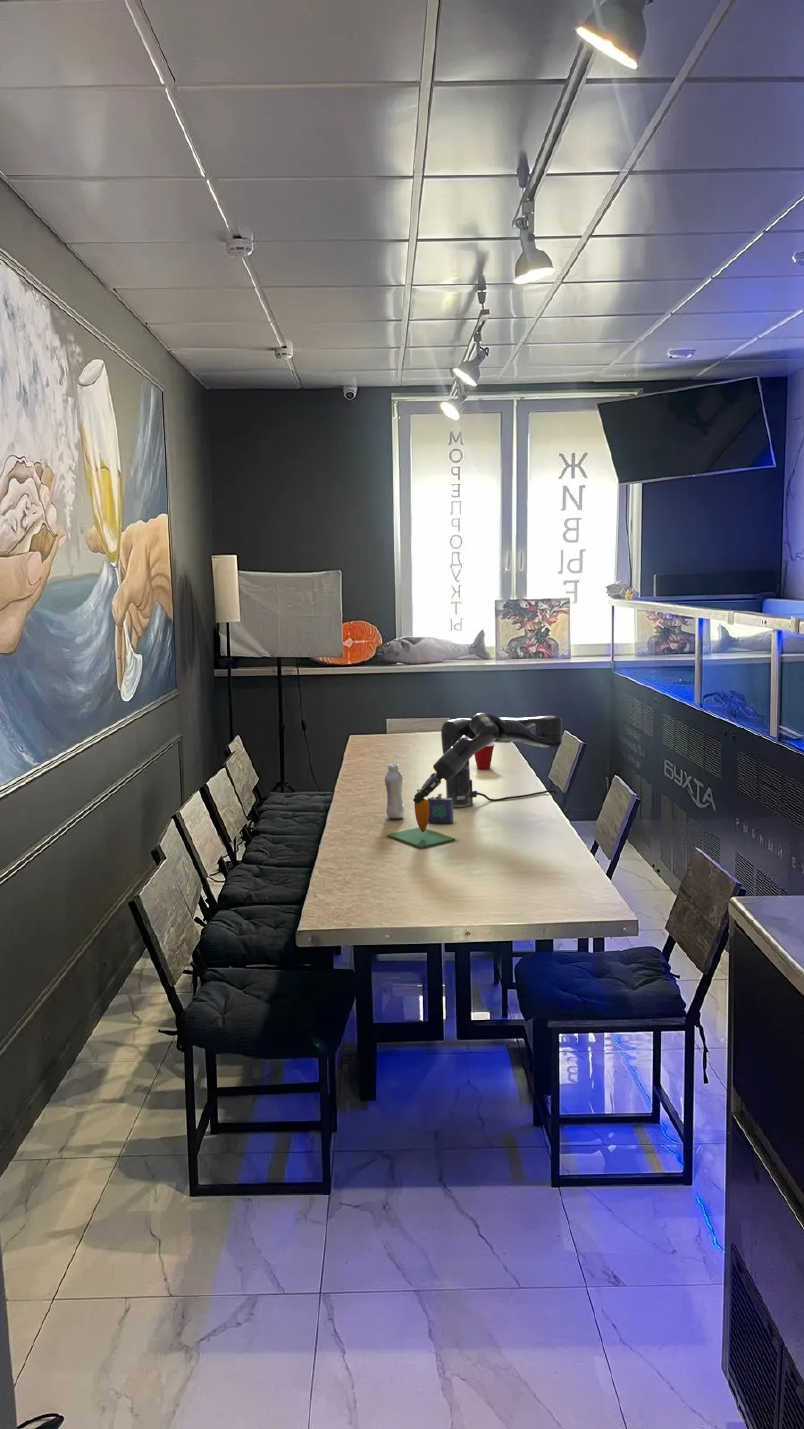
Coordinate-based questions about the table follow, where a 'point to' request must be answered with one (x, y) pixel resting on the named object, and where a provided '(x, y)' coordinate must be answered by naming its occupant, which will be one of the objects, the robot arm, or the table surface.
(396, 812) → the plastic bottle
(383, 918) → the table surface
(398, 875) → the table surface
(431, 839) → the green mat
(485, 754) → the plastic cup
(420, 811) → the carrot
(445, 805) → the flask
